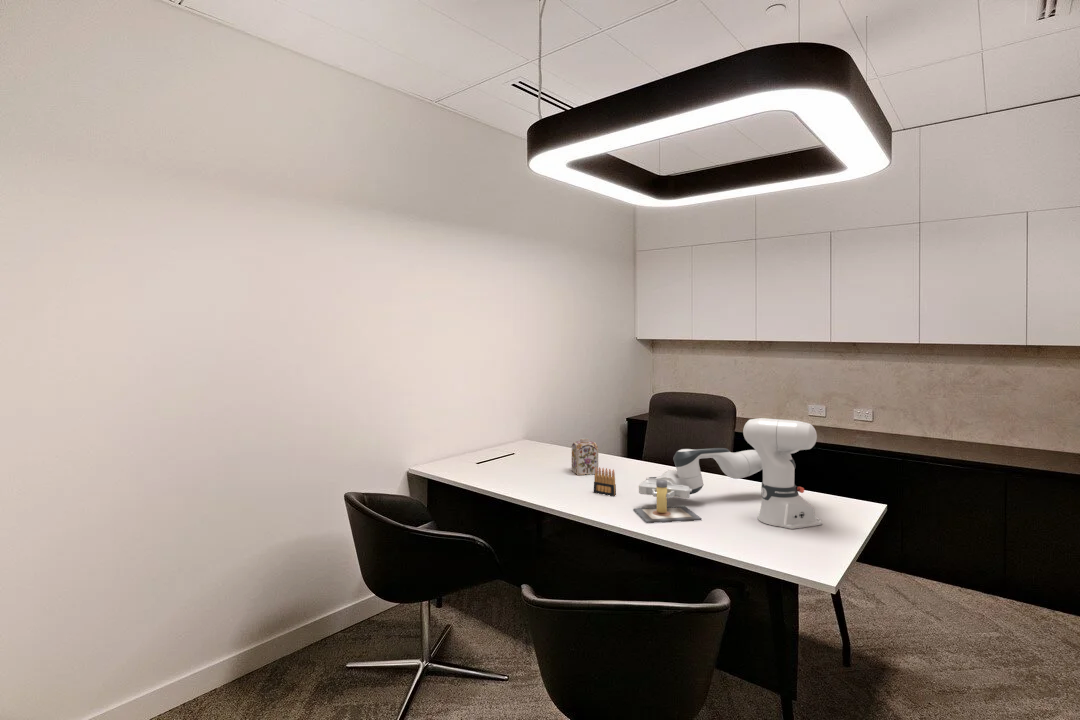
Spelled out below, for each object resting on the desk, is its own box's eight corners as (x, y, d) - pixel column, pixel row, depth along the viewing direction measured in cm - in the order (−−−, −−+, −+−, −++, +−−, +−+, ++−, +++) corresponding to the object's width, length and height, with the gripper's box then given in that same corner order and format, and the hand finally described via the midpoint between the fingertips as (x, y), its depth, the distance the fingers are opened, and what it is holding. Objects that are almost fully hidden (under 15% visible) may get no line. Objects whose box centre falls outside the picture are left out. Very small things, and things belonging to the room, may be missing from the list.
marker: (664, 509, 220) (664, 479, 219) (668, 512, 216) (668, 482, 215) (654, 509, 219) (654, 479, 219) (658, 513, 215) (658, 482, 215)
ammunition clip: (616, 495, 246) (616, 469, 245) (614, 496, 244) (614, 469, 244) (595, 491, 252) (595, 465, 252) (593, 492, 251) (593, 466, 250)
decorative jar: (576, 475, 282) (576, 441, 281) (571, 470, 293) (570, 437, 293) (599, 474, 284) (599, 440, 284) (592, 469, 296) (592, 436, 295)
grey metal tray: (684, 507, 227) (684, 505, 227) (701, 520, 211) (701, 517, 211) (633, 510, 224) (633, 507, 224) (646, 523, 208) (646, 520, 208)
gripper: (692, 496, 225) (688, 506, 213) (642, 491, 233) (635, 500, 220) (692, 481, 225) (688, 490, 212) (642, 476, 233) (635, 484, 220)
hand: (661, 495), depth 216 cm, fingers closed on marker, 4 cm apart
